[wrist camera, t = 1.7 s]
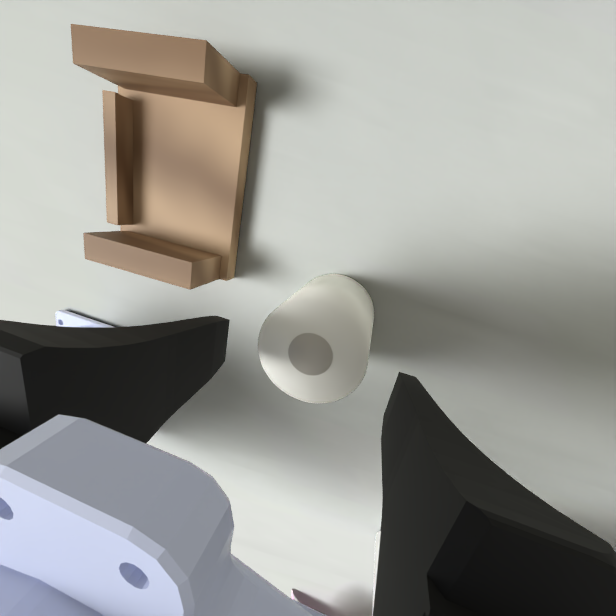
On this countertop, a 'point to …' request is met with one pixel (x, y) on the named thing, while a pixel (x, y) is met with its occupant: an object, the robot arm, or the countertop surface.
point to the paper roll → (319, 340)
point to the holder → (169, 154)
